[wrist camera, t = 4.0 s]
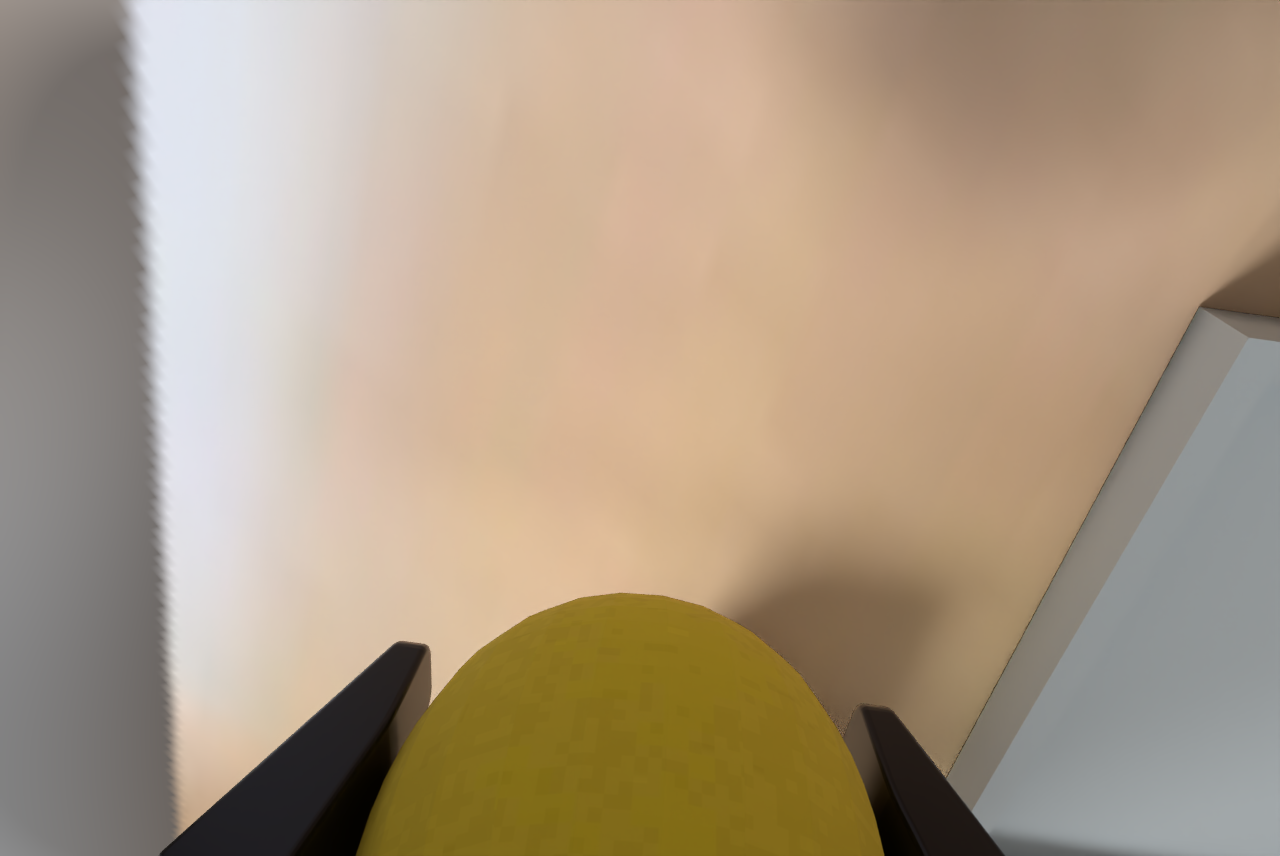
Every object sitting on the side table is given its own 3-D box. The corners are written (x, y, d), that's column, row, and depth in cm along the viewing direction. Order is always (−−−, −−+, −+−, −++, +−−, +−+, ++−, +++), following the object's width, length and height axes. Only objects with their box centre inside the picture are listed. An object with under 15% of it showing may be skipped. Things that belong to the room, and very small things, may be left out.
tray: (1286, 890, 24) (1320, 941, 22) (913, 840, 24) (925, 889, 22) (1803, 391, 15) (1911, 430, 13) (1198, 306, 15) (1248, 337, 13)
